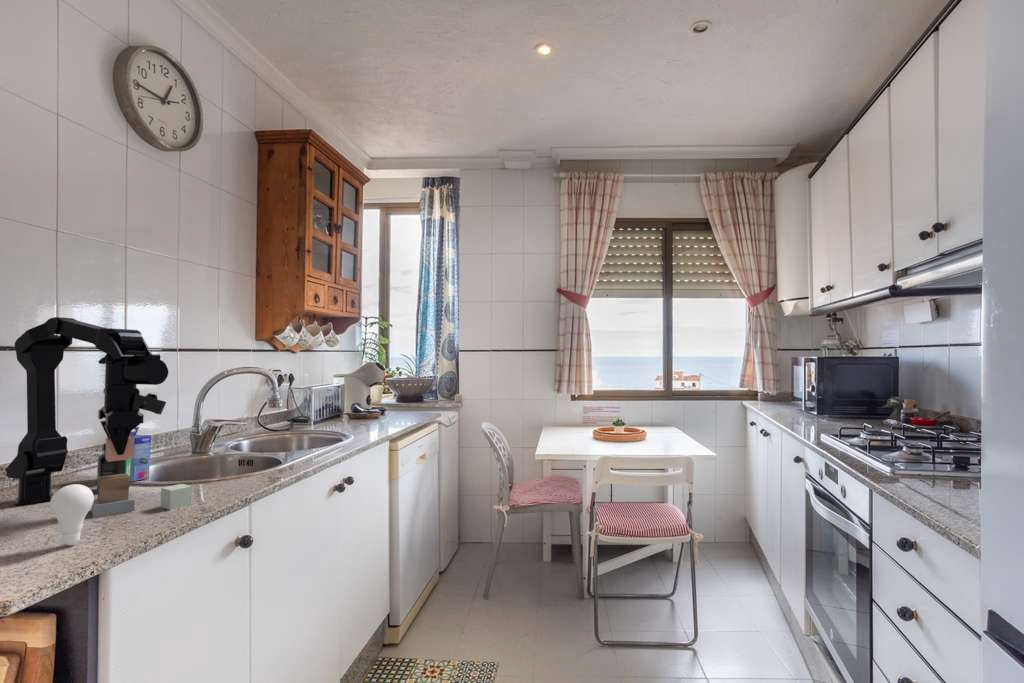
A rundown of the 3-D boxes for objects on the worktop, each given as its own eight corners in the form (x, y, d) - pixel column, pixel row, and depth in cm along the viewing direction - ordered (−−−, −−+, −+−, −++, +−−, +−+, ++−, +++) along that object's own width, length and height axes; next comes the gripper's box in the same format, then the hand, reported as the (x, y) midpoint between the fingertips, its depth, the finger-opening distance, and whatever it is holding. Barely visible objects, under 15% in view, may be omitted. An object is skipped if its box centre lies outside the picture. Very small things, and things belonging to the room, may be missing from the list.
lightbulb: (66, 539, 96) (68, 480, 96) (100, 539, 96) (102, 480, 97) (38, 552, 90) (41, 489, 90) (75, 551, 90) (77, 488, 90)
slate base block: (91, 512, 114) (91, 499, 114) (130, 506, 119) (130, 493, 119) (93, 520, 109) (94, 505, 109) (134, 513, 113) (134, 499, 114)
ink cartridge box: (151, 478, 144) (152, 426, 145) (132, 482, 139) (134, 429, 139) (122, 476, 146) (123, 425, 147) (103, 480, 141) (105, 428, 141)
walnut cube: (97, 499, 114) (98, 476, 114) (125, 495, 117) (126, 473, 118) (99, 503, 110) (100, 480, 110) (128, 499, 114) (129, 477, 114)
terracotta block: (105, 458, 115) (105, 438, 115) (130, 456, 118) (130, 436, 118) (107, 461, 112) (108, 441, 112) (133, 458, 115) (133, 438, 115)
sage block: (160, 507, 117) (161, 487, 117) (181, 502, 121) (182, 483, 121) (170, 510, 114) (170, 490, 115) (191, 505, 118) (192, 486, 118)
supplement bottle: (136, 487, 134) (137, 441, 134) (106, 494, 127) (108, 445, 128) (120, 484, 136) (121, 439, 137) (90, 490, 130) (92, 443, 131)
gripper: (171, 384, 114) (170, 454, 114) (155, 381, 128) (154, 444, 127) (109, 386, 107) (106, 461, 106) (98, 383, 120) (96, 449, 120)
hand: (118, 453), depth 115 cm, fingers closed on terracotta block, 4 cm apart
